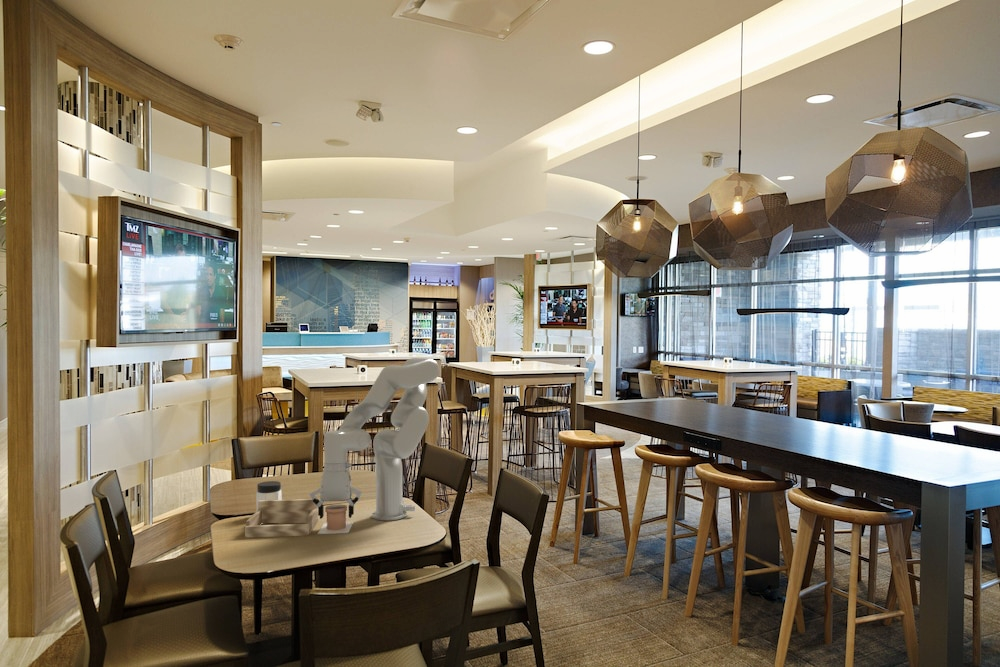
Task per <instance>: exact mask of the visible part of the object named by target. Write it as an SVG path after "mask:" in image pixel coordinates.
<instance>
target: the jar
mask: <svg viewBox="0 0 1000 667" xmlns="http://www.w3.org/2000/svg"><path fill="white" fill-rule="evenodd" d="M256 485H257V486H256V488H257V491H256V494H255V496H256V499H255V500H256V506H255V507H256V511H257V510H258V501H259V500H283V498H282V496H283V495H282V488H281V487H282V484H281V482H280V481H276V480H274V481H273V480H271V481H269V480H268V481H262V482H258V483H257V484H256Z"/></svg>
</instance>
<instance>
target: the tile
mask: <svg viewBox="0 0 1000 667" xmlns="http://www.w3.org/2000/svg"><path fill="white" fill-rule="evenodd" d="M353 525H354V521H348V522H347V521H346V528H344V529H341V530H328V529H327V522H323V525H322V526H321V528H319V531H318V532H317V535H326V534H327V535H328V534H329V535H332V534H349V533H350V531H351V529H352V526H353Z"/></svg>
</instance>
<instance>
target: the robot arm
mask: <svg viewBox="0 0 1000 667" xmlns="http://www.w3.org/2000/svg"><path fill="white" fill-rule="evenodd" d="M439 374H440V365H439V363H438V361H436V360H434V359H432V358H426V357H425V358H423V357H422V358H421V357H420V358H419V357H412V358H411V357H410V358H408V359H407V360H406V361H404V363H403V365H399V364H398V365H395V364H392V365H391V364H390V365H386V366H384V367H383V368H382V370H381V371H380V373H379V375H378V376H377V378H376V379H375V381H374V383H373V384H372V386H371V388H370V390H369V391H368V393H367V395H366V396H365V398H364V399H363V400H361V401H360V402H359V403H358V404H357V405H355V407H354V408H353V409H352V410H351V411H350V412H349V413H348V414H347V415H346V416H345V418H344V419H343V421H342V423H341V425H340V427H339V429H338V430H337V429H336V430H329V431H326V432H325V433H324V436H323V437H324V438H323V444H324V445H323V446H324V447H323V448H324V449H323V450H324V453H323V454H324V456H323V457H324V459H323V460H324V470H323V471H322V474H321V479H320V488H318V489H315V490H314V491H311V492H310V493H309V497H310V499H312V500H313V502H314V503H315V504H316V505H317V507H318V517H319V519H320V520H322V519H324V513H325V512H324V509H325V505H324V504H323V503H325V502H344V501H345V502H347V504H348V518H352V516H353V515H354V514H355V512H354V511H355V506H354V505H355V504H356V503H357V502H359V499H360V497H361V496H362V493H363V492H362V491H361V490H359V489H356V488H355V487H353V486H352V477H351V472H350V470H349V468H352V463H349V462H348V452H349V451H350V452H353V451H354V452H360V451H364V450H366V449H367V448H369V446H370V444H371V443H372V446H373V452H374V459H375V501H376V502H375V505H376V506H375V508H376V510H375V511H373V512H372V513H371V518H372V519H373V520H376V521H385V522H386V521H396V520H401V519H404V518H406V517H407V515H408V512H415V511H416V506H415V505H413V504H405V501H404V500H403V461H402V459H403V460H405V459H407V458H409V457H410V456H412V454H413V453H414V452H415V451H416V448H417V447H418V445H419V443H420V441H421V440H422V438H423V437H424V434H425V432H426V431H427V429H428V426H429V424H430V423H429V422H430V416H429V413H428V411H427V409H426V408H425V407H423V406H424V404H425V402H426V400H427V396H428V388H427V384H428V383H432V382H433V381H435V380H436V379H437V378H438V377H439ZM398 390H404V392H403V394H402V396H401V398H400V399H399V401H398V402H397V404H396V406H395V407H394V408H393V409H394V410H393V411H392V413H391V416H390V423H391V424H392V426H393V427H394V428H396V429H399V430H396V429H392V428H391V429H390V428H384V429H380V430H379V431H378V432H377V433H376V434H375V436H374V438H373V442H371V441H372V437H371V435H370V433H369V432H368V431H366V430H364V429H362V427H363V426H364V424H365V423H366V422H368V421H369V420H371V418H374V417H375V416H378V415H380V414H382V413H384V412H385V411H387V408H388V407H389V405H390V404H391V402H392V400H393V398H394V396H395V395H396V393H397V391H398ZM318 494H319V495H320V496H319V497H320V500H319V498H318V497H317V496H316V495H318ZM353 494H355V498H352V495H353Z"/></svg>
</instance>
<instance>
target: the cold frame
mask: <svg viewBox="0 0 1000 667" xmlns="http://www.w3.org/2000/svg"><path fill="white" fill-rule="evenodd" d="M318 522H319V516H318V507H317V505H316V504H315V503H314V502H313V500H312V498H301V499H300V498H299V499H298V498H296V499H282V500H259V501H258V510H257V509H256V511H255V512H254V513H253V514H252V515H250V517H249V518H248V519H247V520H246V521H245V526H244V538H271V537H272V538H274V537H275V538H276V537H301V536H302V537H303V536H310V534H311V533H312V531H313V530H314V529H315V527H316V526H317V524H318ZM261 523H279V524H261ZM260 524H261V525H260Z"/></svg>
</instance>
